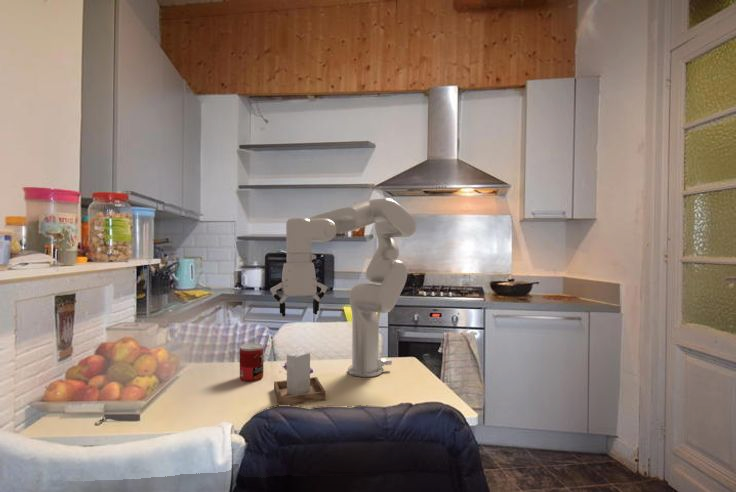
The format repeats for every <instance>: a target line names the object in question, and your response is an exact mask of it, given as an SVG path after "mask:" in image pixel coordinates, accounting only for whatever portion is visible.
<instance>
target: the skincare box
mask: <svg viewBox="0 0 736 492" xmlns="http://www.w3.org/2000/svg"><path fill="white" fill-rule="evenodd" d="M286 362H287V368H286V380H287V393H288V394H290V395H296V394H303V393H306V392H308V391H310V378H311V373H310V367H311V352H309V351H306V350H299V351H296V352H292V353H287V354H286Z"/></svg>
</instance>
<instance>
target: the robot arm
mask: <svg viewBox="0 0 736 492" xmlns="http://www.w3.org/2000/svg"><path fill="white" fill-rule="evenodd" d="M416 223H417V222H416V220H415V218H414V216H413V215H412V214H411V213H410V212H409V211H407V209H405V208H404V207H403V206H402V205H401V204H399V203H398V202H397V201H395V200H393V199H392V198H387V197H383V198H374V199H373V198H372V199H367V200H364V201H361V202H358V203H355V204H352V205H348V206H346V207H341V208H337V209H334V210H331V211H327V212H323V213H320V214H315V215H312V216H309V217H307V218H305V217H291V218H288V219H287V221H286V224H285V225H286V226H285V228H286V229H285V230H286V231H285V232H286V233H285V234H286V239H285V243H286V245H285V246H286V263H283V266H282V273H281V274H282V275H281V276H282V277H281V282H279V283H278V284H276V285H274V286H272V287H270V289H269V290H270V292H271V295H272V297H273V298H274V299H275V300H277V302H278V303H279V314H281V316H282V317H283V318H284V317H286V303H285V301H286V300H287V298H291V297H293V298H295V297H308V296H309V297H312V298H313V300H312V313H313V314H314V315H318V312H319V311H320V301H321V299H322V298H324V296H325V293H326V292H327V290H328V286H327V285H326V284H323V283H321V282H318V281H317V277H316V275H317V274H316V270H315V269H316V268H315V264H314V263H315V262H313V260H316V259H317V254H313V252H312V243H327V242H329V241H331V240H333V239H334V238H335V237H336V234H341V233H348V232H354V231H357V230H359V229H362V228H364V227H367V226H369V225H372V224H374V230H375V233H376V237H377V242H378V243H377V249H376V251H375V253H374V255H373V256H372V258H371V261H369V263H368V266H367V268H366V271H365V278H366V281H368V282H369V283H368V282H367V283H366V282H361V283H358V284H357V283H356V284H355V285H354V286H353V287H352V288H351V289H350V293H349V297H348V298H349V305H350V309H351V310H350V311H351V319H352V320H351V321H352V322H351V327H352V328H351V329H352V332H351V333H352V334H351V335H352V336H351V339H352V341H351V344H352V345H351V346H352V347H351V349H352V350H351V351H352V352H351V353H352V355H351V357H352V358H351V362H352V363H351V365H350V366H348V368H347V372H348V374H349V375H352V376H353V377H354V376H355V377H360V378H370V377H377V376H379V375H380V376H381V374H382V373H384V366H391V365H392V359H386V358H380V357H379V355H380V354H379V353H380V352H379V351H380V347H379V346H380V345H379V343H380V342H379V341H380V339H379V337H380V335H379V334H380V331H379V329H380V322H379V318H378V315H377V313H379V314H388V313H390V312H391V311H392V310H393V309H394V308H395V306H396V303H397V302H398V300H399V299H400V298H399V297H400V295H401V293H402V291H403V289H404V287H405V286H406V283H407V278H408V268H407V265H406V264H405V263H404V262H403V261H401V260H398V258H399V255H400V249H399V246H398V243H397V241H396V238H408V237H410V236H412V235H414V234H415V232H416V229H417V224H416ZM317 287H318V288H320V289H321V290H320V292H318V293H317ZM280 289H281V293H282V294H281V295H279V294H278V293H277V291H278V290H280Z"/></svg>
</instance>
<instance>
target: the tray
mask: <svg viewBox="0 0 736 492" xmlns="http://www.w3.org/2000/svg"><path fill="white" fill-rule="evenodd" d="M273 391H274V394H275V398H276V402H277V405H287V406H293V405H299V404H300V405H302V404H309V403H315V402H316V403H317V402H324V401H327V391H326V390H325V388H324V386H323V384H321V382H320V380H319V379H318V376H314V377H310V391H308V392H306V393H303V394H296V395H290V394H288V393H287V379H285V380H279V381H278V380H276V381H273Z"/></svg>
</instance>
